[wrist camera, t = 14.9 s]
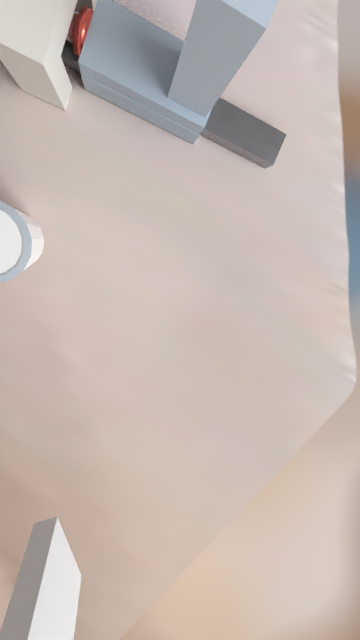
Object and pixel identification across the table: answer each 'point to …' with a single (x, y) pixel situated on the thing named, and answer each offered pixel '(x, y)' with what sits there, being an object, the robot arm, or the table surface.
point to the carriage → (170, 60)
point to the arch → (38, 45)
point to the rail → (225, 126)
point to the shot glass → (17, 242)
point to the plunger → (79, 28)
